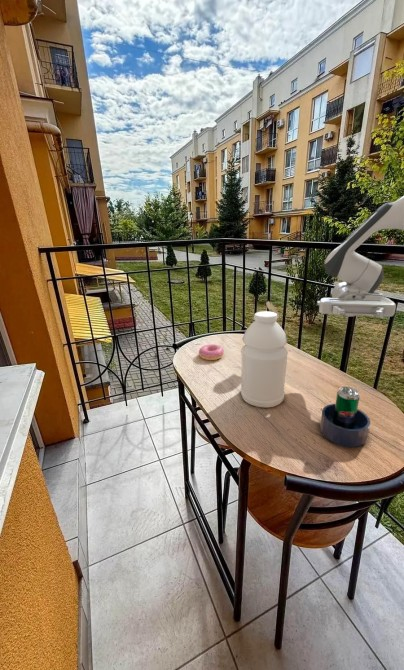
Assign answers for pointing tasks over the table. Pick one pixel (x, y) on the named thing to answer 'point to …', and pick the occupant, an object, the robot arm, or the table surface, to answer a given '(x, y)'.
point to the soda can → (346, 407)
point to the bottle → (263, 361)
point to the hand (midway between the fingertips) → (360, 314)
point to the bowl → (344, 435)
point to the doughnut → (211, 352)
